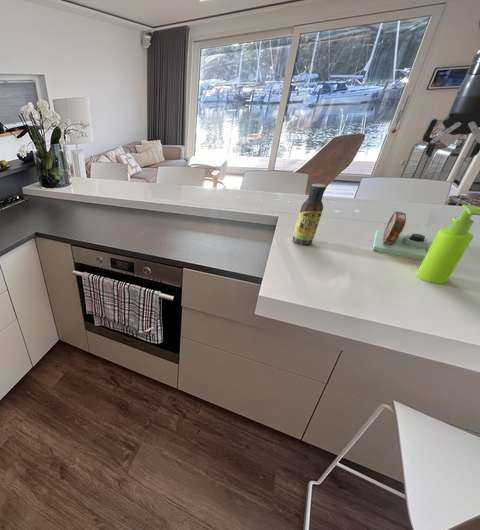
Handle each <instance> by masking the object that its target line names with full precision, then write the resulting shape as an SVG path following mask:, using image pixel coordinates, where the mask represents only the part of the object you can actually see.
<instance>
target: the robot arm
mask: <svg viewBox="0 0 480 530" xmlns="http://www.w3.org/2000/svg"><path fill="white" fill-rule="evenodd" d="M477 25H478V30H479V31H480V20H479V21H478V24H477ZM441 124H442V125H443V127H444V128H443V129H442V130H440V131H439V132H438V133H437V134H435V135H434V136H432V135H431V134H432V133H433V131H434V129H435V128H437V127H439V126H440V125H441ZM470 134H472V136H473V138H474V139H475V142H474V143H473V145H472V146H471V148H470V151H469V153H468V156H467V157H468V158H471V159H472V158H474V157H475V156H477V155H479V153H480V49H479V50H477V51H476V53H475V54H474V56H473V58H472V59H471V63H470V65H469V68H468V70H467V73H466V75H465V76H464V79H463V80H462V82H461V84H460V86H459V88H458V90H457V93H456V96H455V98H454V100H453V102H452V105H451V107H450V109H449V112H448V114H447V116H446V117H445V118H436V117H435V118H434V117H433V118H431V119H430V121H429V122H428V124H427V127H426V129H425V131H424V134H423V135H422V138H421V140H422V142H425V143H428V144H427V146H426V149H425V152H424V154H425V155H426V157H427V158H431V157H432V155H433V152H434V150H435V147H436V145H437V142H438V141H440V140H441V139H443V138H444V137H446V136H447V135H450V136H456V135H462V136H468V135H470ZM431 136H432V137H431Z"/></svg>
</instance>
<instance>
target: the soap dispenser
mask: <svg viewBox="0 0 480 530" xmlns="http://www.w3.org/2000/svg"><path fill="white" fill-rule="evenodd" d="M461 208H463V209H462V211H461V213H460V215H459V216H456V217H453V218H452V220H451V221H450V223H449V225H448V226H447V228H440V229H439V230H438V231H437V234H436V235H435V237H434V239H433V242H431V244H430V246H429V249H428V250H427V251H426V256H425V258H424V260H422V261H421V263H420V265H419V268H418V270H417V271H416V273H415V275H416V276H417V277H418V278H419V279H421V280H423V281H425V282H428V283H433V284H438V285H439V284H445V283H447V282H448V280H449V279H450V277H451V275H452V273H453V272H454V270H455V269H456V267H457V265H458V264H459V262H460V260H461V258H462V257H463V255H464V253H465V252H466V250H467V248H468V247H469V246H470V243H471V242H472V241H473V239H474V234H472V233H471V232H469V231H470V229H471V228H472V225H473V224H474V223H475V221H474V220H473V219H472V218H471V217H472V216H480V208H479V207H478V206H476V205H474V204H473V205H472V204H462V206H461Z"/></svg>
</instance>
